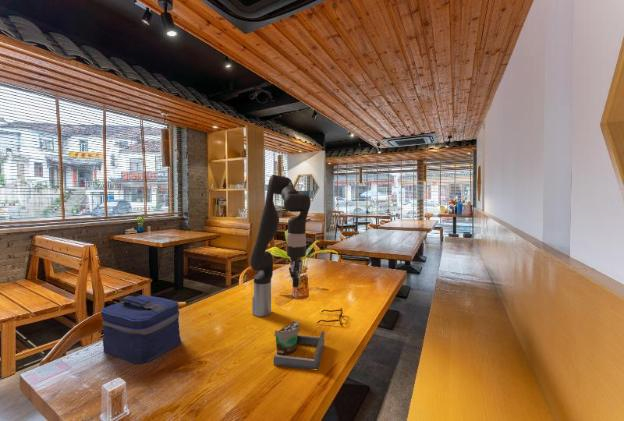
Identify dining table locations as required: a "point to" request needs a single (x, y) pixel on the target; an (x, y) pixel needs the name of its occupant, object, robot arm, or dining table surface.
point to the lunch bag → (140, 328)
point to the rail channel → (303, 362)
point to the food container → (287, 339)
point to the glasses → (333, 320)
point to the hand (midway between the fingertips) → (295, 286)
